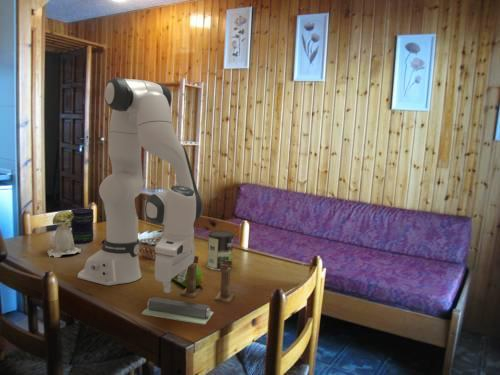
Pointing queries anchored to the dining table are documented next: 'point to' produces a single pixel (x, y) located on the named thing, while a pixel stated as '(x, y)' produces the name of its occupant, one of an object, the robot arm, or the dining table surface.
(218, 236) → the coffee can
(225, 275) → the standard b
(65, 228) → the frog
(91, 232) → the storage jar
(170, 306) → the rail
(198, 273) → the corn
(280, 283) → the dining table surface
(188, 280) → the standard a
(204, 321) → the mat
